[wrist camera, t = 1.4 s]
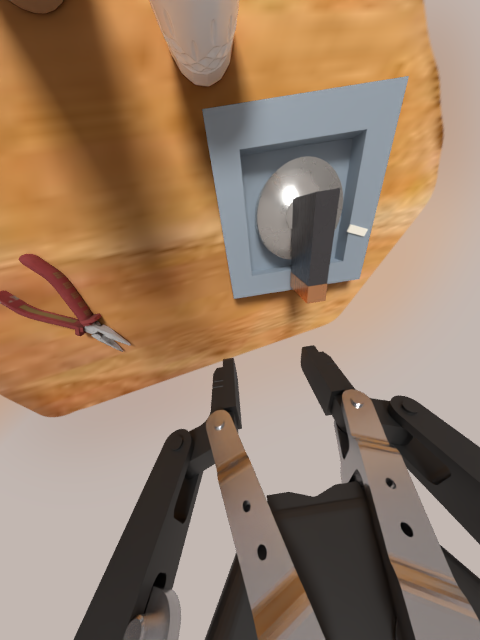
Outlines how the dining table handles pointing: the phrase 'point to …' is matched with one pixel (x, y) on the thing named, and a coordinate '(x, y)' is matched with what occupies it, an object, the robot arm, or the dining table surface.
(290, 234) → the dial
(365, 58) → the dining table surface
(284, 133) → the housing
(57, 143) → the dining table surface
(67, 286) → the pliers
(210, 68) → the white cup
